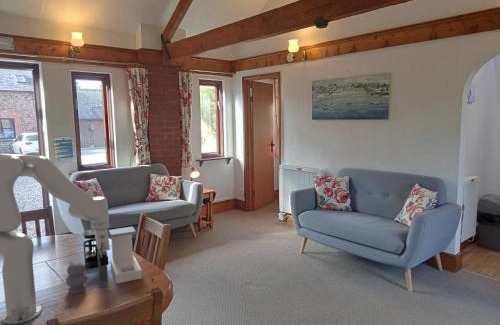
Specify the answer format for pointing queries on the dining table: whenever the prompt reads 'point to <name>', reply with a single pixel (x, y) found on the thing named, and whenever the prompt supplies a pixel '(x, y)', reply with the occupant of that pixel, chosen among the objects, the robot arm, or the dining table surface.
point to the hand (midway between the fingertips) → (103, 261)
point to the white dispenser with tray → (124, 256)
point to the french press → (90, 250)
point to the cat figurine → (76, 277)
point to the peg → (102, 270)
